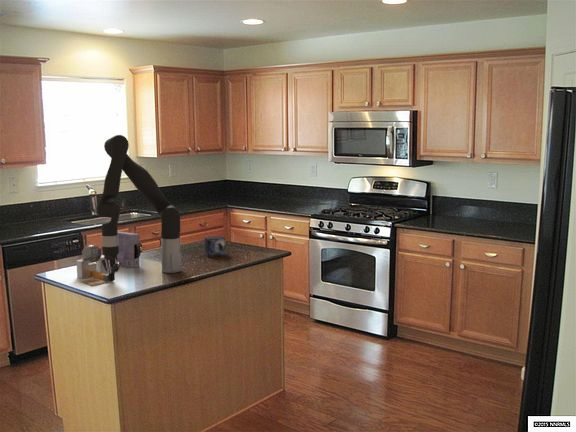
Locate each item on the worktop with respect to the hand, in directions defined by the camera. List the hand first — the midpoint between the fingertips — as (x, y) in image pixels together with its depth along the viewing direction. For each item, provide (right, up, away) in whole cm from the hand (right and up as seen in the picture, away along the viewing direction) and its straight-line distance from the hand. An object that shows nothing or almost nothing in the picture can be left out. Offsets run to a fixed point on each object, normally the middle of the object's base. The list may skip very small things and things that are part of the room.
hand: (111, 280), depth 278 cm
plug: (-9, +1, +7) cm, 11 cm away
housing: (-13, +1, +11) cm, 17 cm away
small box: (+42, +8, +53) cm, 68 cm away
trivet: (-8, -1, -1) cm, 8 cm away
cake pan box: (-3, +4, +30) cm, 31 cm away
